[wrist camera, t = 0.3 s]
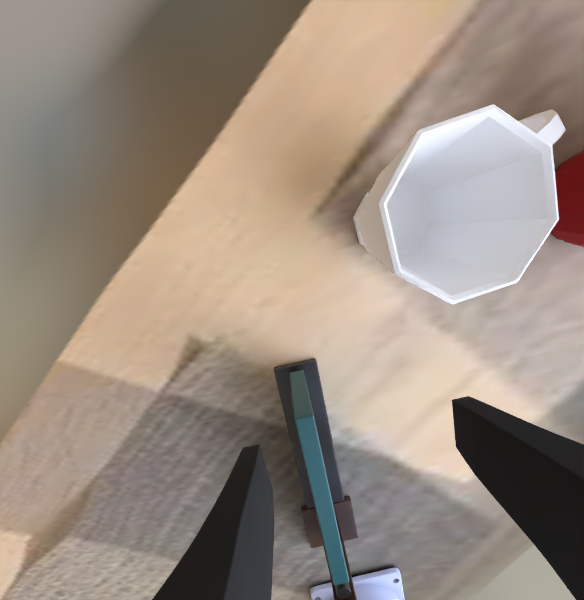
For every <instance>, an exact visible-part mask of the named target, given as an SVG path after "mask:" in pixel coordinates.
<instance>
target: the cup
mask: <svg viewBox="0 0 584 600" xmlns="http://www.w3.org/2000/svg"><path fill="white" fill-rule="evenodd" d="M565 130H566V129H565V127H564V125H563V123H562V122H561V120H560V118H559V116H558V114H557V113H556V112H555V111H554V110H552V109H551V110H548V111H545V112H541V113H538V114H535V115H532V116H530V117H527V118H525V119H522V120H520V121H517V120H516V119H514V118H513V117H511V116H510V115H508V114H507V113H506V112H504V111H503V110H501V109H500V108H498V107H497V106H495V105H494V104H493V105H490V106H487V107H484V108H481V109H478V110H475V111H472V112H469V113H466V114H463V115H460V116H457V117H455V118H452V119H449V120H446V121H443V122H440V123H437V124H434V125H431V126H428V127H425V128H422V129H419V130H418V131H417V132H416V133H415V134H414V135H413V136H412V137H411V139H410V140H409V141H408V142H407V143H406V144H405V145H404V147H403V148H402V149H401V150H400V151H399V153H398V154H397V155H396V156H395V157H394V159H393V160H392V161H391V162H390V163H389V164H388V165H387V166H386V167H385V168H384V170H383V171H382V172H381V173H380V174H379V176H378V178H377V179H376V181H375V183H374V185H373V187H372V189H371V191H370V192H367V193H366V194H365V196H364V197H363V199H362V201H361V203H360V205H359V207H358V209H357V211H356V213H355V215H354V217H353V221H354V225H355V229H356V232H357V236H358V240H359V244H361V245H363V246H365V248H366V250H367V252H368V253H369V254H370V255H371V256H372V257H374V258H375V259H376V260H378V261H379V262H380V263H381V264H383V265H384V266H385V267H386V268H387V269H389V270H390V271H391V272H393V273H394V274H395V275H397V276H399V277H401V278H403V279H405V280H406V281H408V282H410V283H412V284H414V285H416V286H418V287H420V288H422V289H424V290H425V291H427V292H429V293H431V294H433V295H435V296H437V297H439V298H441V299H442V300H444V301H446V302H448V303H450V304H455V303H458V302H461V301H464V300H467V299H470V298H473V297H476V296H479V295H482V294H485V293H488V292H491V291H494V290H497V289H500V288H503V287H506V286H509V285H512V284H515V283H517V282H518V281H519V279H520V278H521V276H522V275H523V273H524V272H525V270H526V269H527V267H528V266H529V264H530V263H531V261H532V260H533V258H534V256H535V255H536V253H537V252H538V250H539V249H540V247H541V246H542V244H543V243H544V241H545V240H546V238H547V237H548V235H549V234H550V232H551V231H552V229H553V228H554V226H555V225H556V223H557V222H558V220H559V215H558V203H557V192H556V181H555V170H554V159H553V147H552V145H553V144H554V143H555V142H556V141H557V140H558V139H559V138H560V137H561V136H562V134H563V133H564V132H565Z"/></svg>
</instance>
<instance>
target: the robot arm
mask: <svg viewBox="0 0 584 600" xmlns="http://www.w3.org/2000/svg"><path fill="white" fill-rule="evenodd" d="M452 405H453V417H454V429H455V440H456V447H457V449H458V450H459V452H460V453H461V455H462V456H463V458H464V459H465V461H466V462H467V464H468V465H469V467H470V468H471V469H472V471H473V472H474V474H475V475H476V476H477V478H478V479H479V480H480V481H481V482H482V484H483V485H484V486H485V487H486V488H487V489H488V491H489V492H490V493H491V494H492V495H493V497H494V498H495V499H496V500H497V501H498V502H499V504H500V505H501V506H502V507H503V508H504V509H505V511H506V512H507V513H508V514H509V515H510V516H511V518H512V519H513V520H514V521H515V522H516V523H517V525H518V526H519V527H520V528H521V529H522V531H523V532H524V533H525V534H526V535H527V536H528V538H529V539H530V540H531V541H532V542H533V543H534V545H535V546H536V547H537V548H538V550H539V551H540V552H541V553H542V555H543V556H544V557H545V558H546V559H547V561H548V562H549V564H550V565H551V566H552V567H553V569H554V570H555V572H556V573H557V574H558V576H559V577H560V578H561V580H562V581H563V582H564V584H565V585H566V587H567V588H568V589H569V591H570V592H571V593H572V595H573V596H574V597H575V599H576V600H584V445H583V444H581V443H578V442H575V441H573V440H570V439H568V438H565V437H563V436H560V435H557V434H555V433H553V432H550V431H548V430H545V429H543V428H540V427H538V426H536V425H533V424H531V423H529V422H526V421H524V420H522V419H519V418H517V417H515V416H513V415H510V414H508V413H506V412H504V411H501V410H499V409H497V408H495V407H492V406H490V405H488V404H486V403H483V402H481V401H479V400H476V399H474V398H471V397H469V396H467V397H463V398H459V399H454V400H452ZM273 542H274V506H273V490H272V486H271V482H270V479H269V475H268V472H267V468H266V465H265V461H264V457H263V454H262V450H261V447H260V444H259V445H254V446H250V447H246V448H243V449H242V451H241V453H240V455H239V457H238V459H237V461H236V463H235V466H234V468H233V470H232V472H231V474H230V476H229V478H228V480H227V482H226V484H225V486H224V488H223V490H222V492H221V493H220V495H219V497H218V499H217V501H216V503H215V505H214V507H213V508H212V510H211V512H210V514H209V515H208V517H207V519H206V520H205V522H204V524H203V526H202V527H201V529H200V531H199V532H198V534H197V536H196V537H195V539H194V540H193V542H192V544H191V545H190V547H189V548H188V550H187V551H186V553H185V554H184V556H183V557H182V559H181V560H180V562H179V563H178V565H177V566H176V568H175V569H174V571H173V572H172V573H171V575H170V576H169V577H168V579H167V580H166V582H165V583H164V584H163V586H162V587H161V588H160V590H159V591H158V593H157V594H156V595H155V596H154V598H153V599H152V600H271V589H272V566H273ZM352 581H353V585H354V590H355V594H356V598H357V600H404V593H403V587H402V580H401V574H400V572H399V569H397V568H390V569H385V570H381V571H377V572H373V573H368V574H364V575H360V576H356V577H352ZM310 592H311V598H312V600H334V595H333V590H332V584H331V582H330V583H326V584H322V585H318V586H314V587H312V588H311V591H310Z"/></svg>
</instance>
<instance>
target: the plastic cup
mask: <svg viewBox="0 0 584 600" xmlns="http://www.w3.org/2000/svg"><path fill="white" fill-rule="evenodd" d="M555 181H556V192H557V203H558V215H559V220H558V222H557V223H556V225H555V226H554V228H553V229H552V231H551V233H552V234H553V235H554V236H555V237H556V238H557V239H561V240H564V241H565V242H568V243H572V244H575V245H579V246H584V151H582V152H580V153H579V154H577V155H575V156H573V157H572V158H570V159H569V160H567V161H565V162H564V163H562V164H561V165H560V166H559V168H558V169H557V170H556V171H555Z"/></svg>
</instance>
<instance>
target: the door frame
mask: <svg viewBox="0 0 584 600" xmlns="http://www.w3.org/2000/svg"><path fill="white" fill-rule="evenodd" d="M300 370H303V371H304V375H305V379H306V383H307V388H308V392H309V396H310V401H311V405H312V410H313V414H314V419H315V423H316V428H317V432H318V437H319V442H320V446H321V451H322V456H323V460H324V465H325V470H326V474H327V479H328V483H329V488H330V493H331V497H332V502H333V507H334V511H335V516H336V521H337V525H338V530H339V534H340V539H341V544H342V548H343V553H344V558H345V562H346V567H347V571H348V576H349V582H347V583H343V584H339V585H334V584H333V580H332V576H331V574H330V578H331V584H332V590H333V595H334V600H357V598H356V594H355V590H354V585H353V581H352V577H351V572H350V568H349V564H348V559H347V555H346V551H345V546H344V542H343V541H345V540H349V539H354V538H358V535H357V529H356V524H355V519H354V514H353V509H352V504H351V499H350V496H347V497H344V496H343V491H342V486H341V481H340V476H339V471H338V466H337V461H336V456H335V451H334V446H333V441H332V436H331V432H330V427H329V422H328V417H327V412H326V407H325V402H324V397H323V392H322V387H321V382H320V377H319V372H318V367H317V362H316V359H311V360H307V361H302V362H298V363H293V364H289V365H284V366H280V367H275V368H274V373H275V377H276V381H277V385H278V389H279V393H280V397H281V401H282V405H283V409H284V414H285V418H286V422H287V426H288V430H289V434H290V438H291V442H292V446H293V450H294V455H295V459H296V463H297V467H298V471H299V475H300V479H301V483H302V487H303V491H304V495H305V500H306V504H307V506H304V507H302V514H303V518H304V522H305V526H306V530H307V534H308V538H309V542H310V545H311V548H315V547H319V546H323V542H322V538H321V534H320V530H319V525H318V521H317V517H316V513H315V506H314V499H313V495H312V491H311V486H310V482H309V478H308V474H307V469H306V465H305V461H304V457H303V452H302V448H301V444H300V440H299V436H298V431H297V427H296V423H295V417H294V413H293V409H292V401H291V384H290V376H289V373H291V372H295V371H300Z"/></svg>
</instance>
